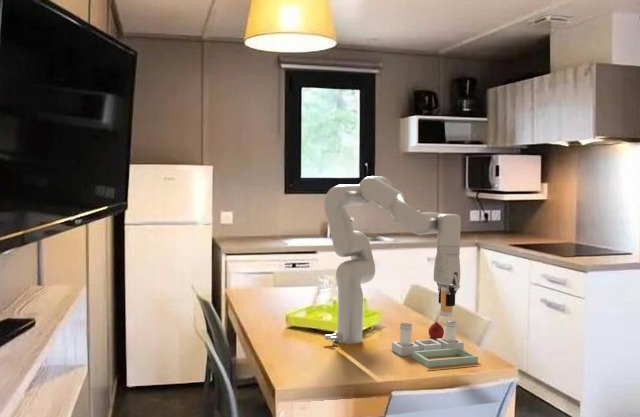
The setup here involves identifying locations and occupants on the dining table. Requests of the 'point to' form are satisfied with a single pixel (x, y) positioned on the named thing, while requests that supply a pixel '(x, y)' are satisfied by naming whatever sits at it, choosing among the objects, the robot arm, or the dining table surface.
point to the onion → (436, 331)
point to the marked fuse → (445, 309)
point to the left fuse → (405, 334)
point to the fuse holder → (424, 346)
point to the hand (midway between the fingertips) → (446, 304)
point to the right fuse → (450, 331)
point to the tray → (465, 359)
